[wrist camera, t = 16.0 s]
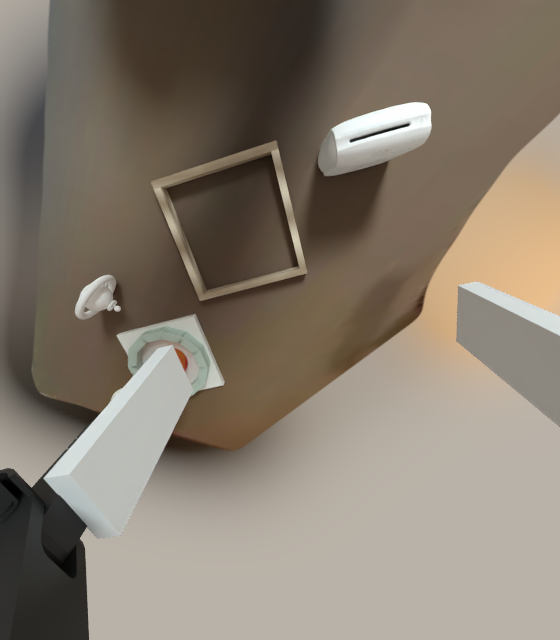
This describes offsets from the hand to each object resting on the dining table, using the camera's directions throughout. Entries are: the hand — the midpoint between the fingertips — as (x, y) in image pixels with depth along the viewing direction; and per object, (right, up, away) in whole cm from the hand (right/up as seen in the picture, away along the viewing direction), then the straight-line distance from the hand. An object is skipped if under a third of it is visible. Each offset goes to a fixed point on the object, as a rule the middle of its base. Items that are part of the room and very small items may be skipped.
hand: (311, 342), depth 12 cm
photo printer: (+9, +24, +24) cm, 35 cm away
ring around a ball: (-29, +6, +33) cm, 44 cm away
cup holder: (-22, -6, +38) cm, 44 cm away
